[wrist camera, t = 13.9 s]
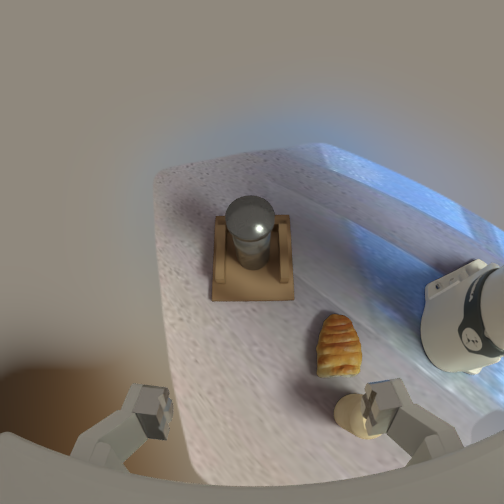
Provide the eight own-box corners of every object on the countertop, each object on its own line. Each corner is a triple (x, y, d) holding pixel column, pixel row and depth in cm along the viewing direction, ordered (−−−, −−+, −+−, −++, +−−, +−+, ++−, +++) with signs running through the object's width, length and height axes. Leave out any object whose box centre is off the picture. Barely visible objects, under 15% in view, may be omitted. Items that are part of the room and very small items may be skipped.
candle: (332, 396, 39) (352, 400, 30) (368, 390, 39) (396, 392, 30) (333, 431, 37) (353, 445, 27) (369, 425, 37) (397, 436, 27)
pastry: (312, 317, 44) (317, 311, 40) (355, 314, 44) (363, 309, 40) (315, 380, 40) (320, 380, 37) (359, 375, 40) (368, 375, 36)
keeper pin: (260, 231, 48) (259, 188, 37) (279, 262, 46) (283, 224, 35) (227, 247, 47) (217, 208, 36) (245, 279, 45) (238, 246, 34)
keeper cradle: (216, 218, 50) (213, 208, 47) (288, 217, 50) (290, 206, 47) (212, 301, 45) (209, 295, 42) (293, 300, 45) (296, 294, 42)
